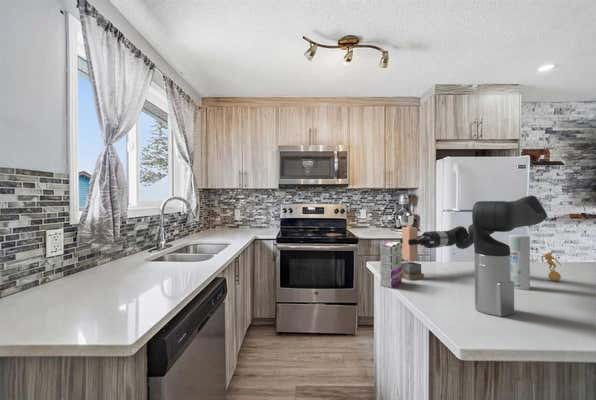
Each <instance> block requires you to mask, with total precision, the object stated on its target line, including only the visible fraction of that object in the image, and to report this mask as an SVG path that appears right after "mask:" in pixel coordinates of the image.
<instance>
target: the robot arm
mask: <svg viewBox="0 0 596 400" xmlns="http://www.w3.org/2000/svg"><path fill="white" fill-rule="evenodd" d="M471 212H472V214H471V216H472V217H471V218H472V224H470V225H468V229H467V228H466V227H464V226H460V225H458V226H455V227H454V228H451V229H449V230H441V231H440V230H431V231H429V230H428V231H424V232H423V233H422V234H421V235H418V239H411V240H408V244H409V245H418V246H422V247H424V248H426V249H434V248H435V249H436V248H442V247H443V248H444V247H451V246H454V245H455V246H456V248H457V249H460V250H465V249H468V248H469V247H471V246H472V245H473V248H474V308H475V309H476V310H477V311H478V312H481V313H484V314H487V315H492V316H498V317H504V316H510V315H514V314H515V288H514V282H513V281H511V279H510V247H509V244H507V243H504V242H502V241H499V240H497V239H495V238H494V237H492V236H491V235H493V234H494V233H496V232H498V233H499V232H500V233H506V232H507V233H508V232H511V231H513V230H515V229H518V228H522V227H531V226H536V225H539V224H541V223H542V222H544V221H545V220H546V219H547V218H548V213H547V211H546V209H545V208H544V207H543V205H542V203H541V202H540V200H539V199H538V198H537V197H536V196H535V195H527V196H524V197H521V198H519V199H516V200H511V201H505V200H481V201H476V202H475V203H474V204H473V207H472V211H471ZM399 243H401V244H402V237H401V238H400V241H399Z"/></svg>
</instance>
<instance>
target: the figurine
mask: <svg viewBox="0 0 596 400" xmlns="http://www.w3.org/2000/svg"><path fill="white" fill-rule="evenodd" d="M552 255H553V253H552V251H549V252H548V253H545V254H543V255H541V256H540V257H541V261H542V263H544V262H545V260H544V258H545V259H546V263H547V264H548V265H549V267H548V268H549V270H550V272H549V273H548V274H547V275H548V279H549V280H551V281H553V282H558V281H560V280H561V279H562V276H561V274H560V273H559V272H557V271H556V270H555V269H556V267H557V264H559V266H560V267H562V265H561V262H559V260H557V258H555V257H554V256H552ZM552 260H554V261H555V262H556V263H557V264H556V263H555V262H554V261H552Z"/></svg>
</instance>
